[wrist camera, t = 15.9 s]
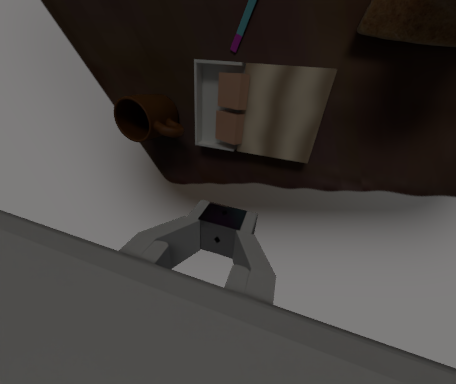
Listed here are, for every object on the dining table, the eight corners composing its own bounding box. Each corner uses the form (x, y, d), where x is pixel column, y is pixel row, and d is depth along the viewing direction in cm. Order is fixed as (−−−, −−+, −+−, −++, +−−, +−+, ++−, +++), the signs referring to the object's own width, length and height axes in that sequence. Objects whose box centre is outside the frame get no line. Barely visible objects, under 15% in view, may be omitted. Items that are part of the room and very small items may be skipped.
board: (334, 70, 28) (337, 68, 26) (306, 158, 35) (307, 163, 33) (249, 64, 31) (246, 62, 29) (239, 147, 38) (236, 151, 36)
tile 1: (250, 74, 29) (241, 73, 27) (246, 109, 31) (237, 109, 30) (227, 73, 32) (218, 72, 30) (225, 105, 34) (217, 105, 33)
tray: (246, 64, 31) (242, 62, 28) (237, 147, 38) (233, 151, 35) (201, 61, 32) (194, 59, 30) (201, 141, 40) (195, 144, 37)
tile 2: (244, 114, 32) (236, 114, 30) (241, 143, 34) (234, 144, 33) (224, 109, 35) (216, 110, 33) (222, 136, 37) (215, 138, 36)
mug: (202, 107, 36) (176, 112, 28) (196, 143, 40) (172, 157, 33) (148, 88, 38) (110, 89, 30) (148, 126, 42) (114, 135, 34)
